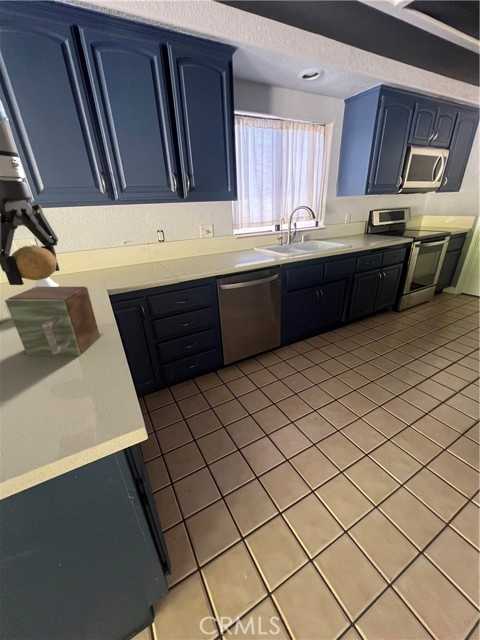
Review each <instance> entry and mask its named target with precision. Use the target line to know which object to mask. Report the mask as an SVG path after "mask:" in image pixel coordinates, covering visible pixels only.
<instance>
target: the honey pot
mask: <svg viewBox="0 0 480 640" xmlns="http://www.w3.org/2000/svg"><path fill="white" fill-rule="evenodd" d="M34 287H59V283H56V282H54V281H53V280H52V279H51V277H50V276H49V277H48V278H46V279H40V280H35V285H34V286H32V287H31V289H32V288H34Z"/></svg>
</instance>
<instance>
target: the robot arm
mask: <svg viewBox="0 0 480 640" xmlns="http://www.w3.org/2000/svg"><path fill="white" fill-rule="evenodd" d="M25 178H26V176H25V173H24V169H23V167H22V163H21V161H20V157H19V153H18V149H17V146H16V142H15V139H14V135H13V132H12V128H11V125H10V122H9V117H8V116H7V114H6V110H5V108H4V105H3V102H2V100H1V99H0V268H1V270H2V271H3V273H4V274H5V276H6V278H7V281H8V284H9V285H10V286H24V285H25V283H24V281H23V278H22V277H21V275H20V272H19V269H18V266H17V264H16V261H15V258H14V256H11V250H12V245H13V240H14V236H15V232H16V230H17V229H18V227H21V226H23V227H25V228H26V229H28V230H29V232H30V233H31V234H32V235H33V236H34V237H35V238H36V239H37V240H38V241H39V242H40V243H41V245H42V246H40V247H41V248H45V249H47V250H49V251H50V252H51V253H52V254H53V255H54V256H55V258H56V260H57V263H56V270H55V272H60V266H59V263H58V259H57V253H56V250H55V248H54V247H55V246H58V241H59V238H58V236H57V234H56V232H55V231H54V230H53V228H52V227H51V225H50V222H49V221H48V219H47V217H46V216H45V214H44V212H43V208H42V206H41V205H40V204H39V203H38V204H37V203H36V204H35V203H34V204H32V203H31V204H30V202H29V200H32V196H31V192H30V188H29V185H28V183H27V182H26V181H24V180H25Z"/></svg>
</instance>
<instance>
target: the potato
mask: <svg viewBox="0 0 480 640" xmlns="http://www.w3.org/2000/svg"><path fill="white" fill-rule="evenodd" d="M10 256H14V258H15V261H16V264H17V266H18V269H19V272H20V275H21V277H22V279H25V280H31V281H37V280H40V279H46V278H48V277H49V278H50V277H51V276H52V275H53V274H54V273H55V272H56V271H55V270H56V263H57V262H58V259H57V257H56V258H55V256H54V255H53V254H52V253H51V252H50V251H49V250H47V249H45V248H41V246H36V245H30V246H22V247H19V248H18V249H16V250H15V251H13V253H12V254H10ZM56 259H57V260H56Z"/></svg>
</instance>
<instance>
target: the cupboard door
mask: <svg viewBox="0 0 480 640" xmlns="http://www.w3.org/2000/svg"><path fill="white" fill-rule="evenodd" d="M4 302H5V304H6V307H7V309H8V312H9V314H10V317H11V319H12V321H13V324H14V327H15V329H16V331H17V334H18V335H19V339H20V341H21V344H22V346H23V348H24V351H25V353H26V355H27V356H49V357H50V356H53V357H54V356H55V357H80V356H81V355H82V354H81V352H80V348H79V345H78V342H77V338H76V335H75V332H74V329H73V325H72V322H71V319H70V316H69V312H68V309H67V306H66V303H65V300H63V299H8V298H6V299H5V300H4Z"/></svg>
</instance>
